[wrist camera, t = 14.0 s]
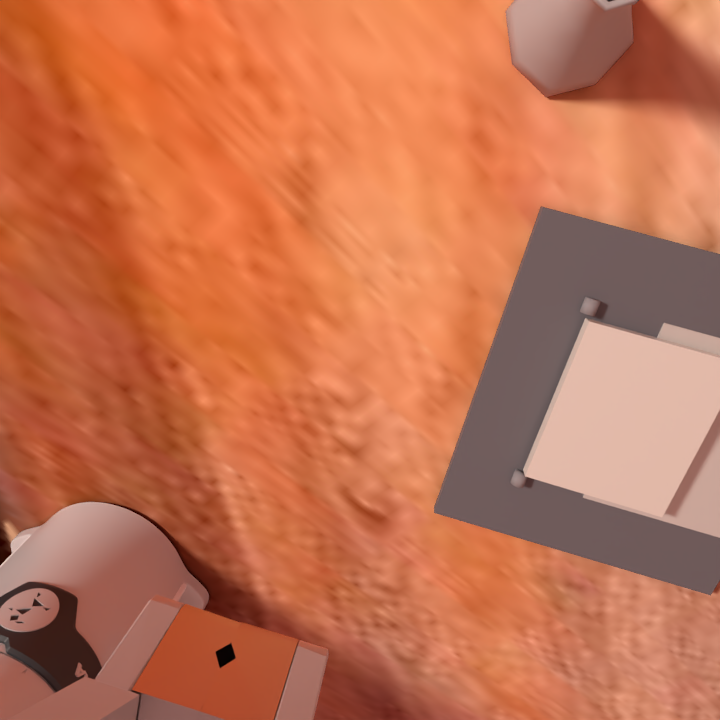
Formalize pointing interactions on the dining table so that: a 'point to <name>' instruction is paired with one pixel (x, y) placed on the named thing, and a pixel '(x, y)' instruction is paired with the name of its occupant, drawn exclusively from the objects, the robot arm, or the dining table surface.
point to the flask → (568, 40)
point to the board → (541, 377)
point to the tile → (626, 417)
